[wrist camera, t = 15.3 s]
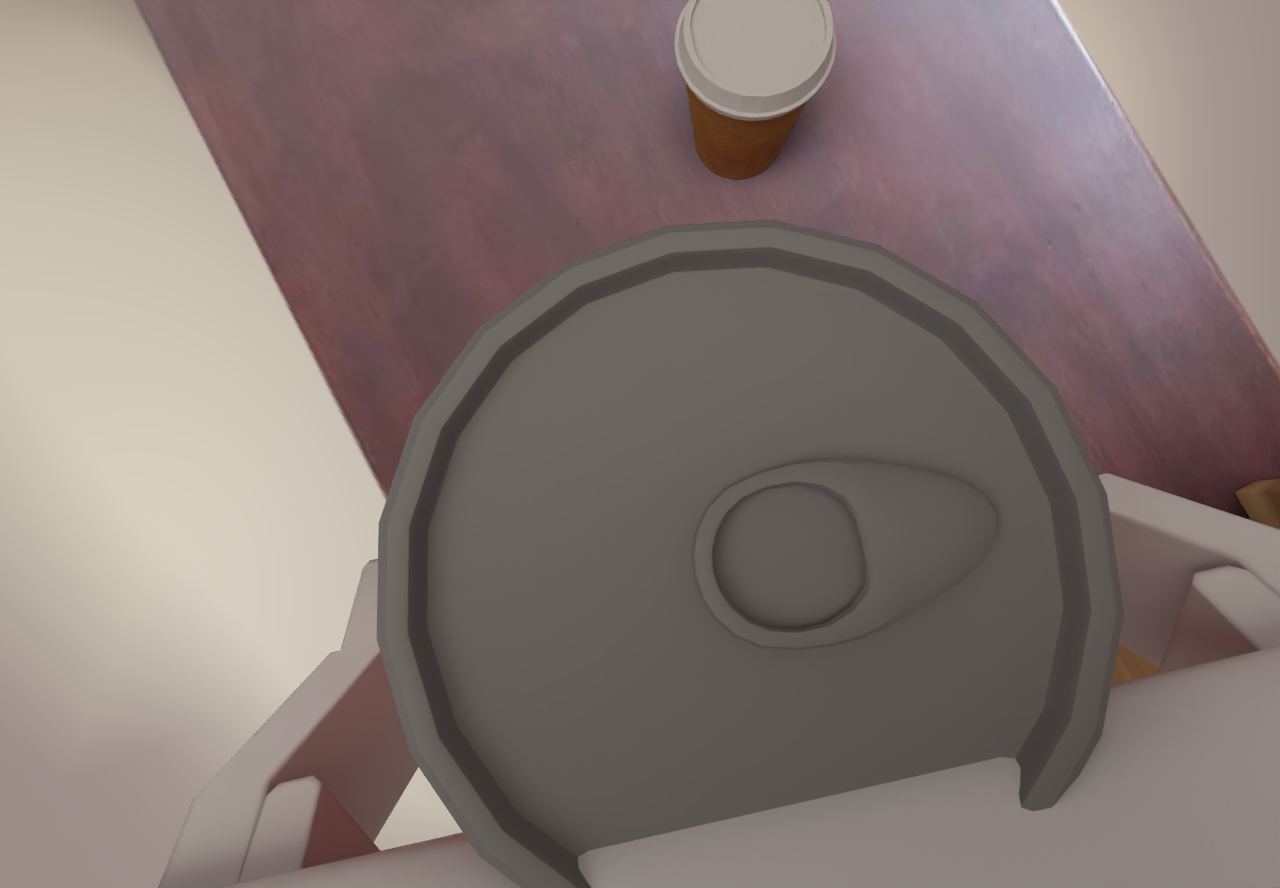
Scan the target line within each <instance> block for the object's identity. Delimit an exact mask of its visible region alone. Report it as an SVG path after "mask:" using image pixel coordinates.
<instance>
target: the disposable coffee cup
mask: <svg viewBox="0 0 1280 888" xmlns="http://www.w3.org/2000/svg"><path fill="white" fill-rule="evenodd" d="M836 46H837V38H836V28H835V25H834V22H833V19H832V13H831V8H830V6H829V4H828V2H827V0H689V1H688V2H687V4H686V6H685V7H684V9H683V11H682V13H681V15H680V18H679V20H678V23H677V28H676V34H675V54H676V61H677V64H678V67H679V70H680V72H681V75H682V76H683V78H684V80H685V82H686V87H687V93H688V99H689V106H690V112H691V119H692V124H693V132H694V138H695V146H696V149H697V153H698V155H699V157H700V159H701V160H702V162H703V163H704V164H705V166H706V167H708V168H709V169H710V170H711V171H713V172H714V173H716V174H718V175H720V176H723V177H726V178H731V179H745V178H749V177H753V176H755V175H757V174H759V173H761V172H762V171H764V170H765V169H767V168H768V167H769V165H770V164H771V163H772V162H773V161H774V159H775V158H776V156H777V154H778V152H779V150H780V148H781V147H782V145H783V143H784V141H785V139H786V138H787V136H788V134H789V132H790V131H791V129H792V127H793V125H794V124H795V122H796V120H797V118H798V116H799V115H800V113H801V111H802V109H803V107H804V106H805V104H806V102H807V101H808V100H809V99H810V98H811V97H812V96H813V95H814V94H815V93H816V92H817V91H818V90H819V89H820V88H821V86H822V85H823V83H824V81H825V80H826V78H827V77H828V75H829V73H830V70H831V68H832V65H833V63H834V59H835V55H836Z"/></svg>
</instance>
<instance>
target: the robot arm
mask: <svg viewBox="0 0 1280 888" xmlns="http://www.w3.org/2000/svg"><path fill="white" fill-rule="evenodd" d="M1098 476H1099V478H1100V480H1101V482H1102V484H1103V486H1104V488H1105V491H1106V493H1107V497H1108V504H1109V511H1110V519H1111V526H1112V533H1113V540H1114V547H1115V554H1116V561H1117V568H1118V575H1119V582H1120V589H1121V596H1122V603H1123V610H1124V616H1123V622H1122V627H1121V633H1120V638H1119V644H1120V645H1122V646H1123V647H1125V648H1127V649H1128V650H1130V651H1132V652H1134V653H1135V654H1137V655H1139V656H1140V657H1142V658H1144V659H1145V660H1147V661H1149V662H1150V663H1152V664H1154V665H1156V666H1157V667H1159V669H1158V672H1157V674H1154V675H1150V676H1146V677H1141V678H1137V679H1132V680H1128V681H1124V682H1119V683H1115V684H1111V688H1110V694H1109V699H1108V705H1107V710H1106V716H1105V721H1104V727H1103V732H1102V736H1101V738H1100V739H1099V741H1098V743H1097V745H1096V747H1095V748H1094V750H1093V752H1092V754H1091V755H1090V757H1089V759H1088V761H1087V763H1086V764H1085V766H1084V768H1083V770H1082V771H1081V773H1080V775H1079V776H1078V777H1077V779H1076V780H1075V781H1074V782H1073V783H1072V784H1071V786H1070V787H1069V788H1068V789H1067V790H1066V792H1065V793H1064V794H1063V795H1062V796H1061V797H1060V799H1059V800H1058V801H1057V802H1056V803H1055V805H1054V806H1053V807H1052V808H1048V809H1043V810H1038V811H1031V810H1027V809H1024V808H1021V803H1020V798H1019V789H1020V769H1021V768H1020V766H1019V764H1018V763H1017V761H1016V759H1015V758H1008V757H999V758H994V759H990V760H986V761H981V762H977V763H972V764H968V765H964V766H959V767H955V768H950V769H946V770H942V771H937V772H933V773H928V774H924V775H920V776H915V777H911V778H906V779H902V780H898V781H893V782H889V783H884V784H880V785H876V786H871V787H867V788H863V789H858V790H854V791H849V792H845V793H841V794H836V795H832V796H827V797H823V798H819V799H814V800H810V801H805V802H801V803H797V804H792V805H788V806H783V807H779V808H775V809H770V810H766V811H761V812H757V813H753V814H748V815H744V816H739V817H735V818H731V819H726V820H722V821H717V822H713V823H709V824H704V825H700V826H695V827H691V828H687V829H682V830H678V831H673V832H669V833H665V834H660V835H656V836H651V837H647V838H643V839H638V840H634V841H629V842H625V843H621V844H616V845H612V846H607V847H603V848H599V849H594V850H590V851H587V852H586V853H584V854H583V855H581V856H580V857H578V867H579V870H580V871H581V873H582V875H583V876H584V878H585V879H586V881H587V882H588V884H589V885H590V886H591V888H1280V530H1279V529H1276V528H1273V527H1270V526H1267V525H1264V524H1261V523H1258V522H1255V521H1252V520H1249V519H1246V518H1243V517H1240V516H1237V515H1234V514H1231V513H1228V512H1225V511H1221V510H1218V509H1215V508H1212V507H1209V506H1206V505H1203V504H1200V503H1197V502H1194V501H1191V500H1188V499H1185V498H1182V497H1179V496H1176V495H1173V494H1170V493H1167V492H1164V491H1161V490H1158V489H1155V488H1151V487H1148V486H1145V485H1142V484H1139V483H1136V482H1133V481H1130V480H1127V479H1124V478H1121V477H1118V476H1115V475H1112V474H1109V473H1106V474H1102V475H1098ZM377 590H378V559H375V560H370V561H369V562H368V563H367V564H366V565H365V566H364V568H363V569H362V573H361V577H360V581H359V585H358V588H357V592H356V595H355V599H354V603H353V607H352V610H351V615H350V618H349V621H348V625H347V629H346V632H345V636H344V640H343V643H342V647H341V650H340V651H337V652H333V653H330V654H329V655H328V656H327V657H326V658H325V659H324V660H323V661H322V663H321V664H320V665H319V666H318V667H317V668H316V669H315V670H314V671H313V672H312V673H311V674H310V675H309V676H308V677H307V678H306V680H305V681H304V682H303V683H302V684H301V685H300V686H299V687H298V688H297V689H296V690H295V691H294V692H293V693H292V694H291V695H290V697H289V698H288V699H287V700H286V701H285V702H284V703H283V704H282V705H281V706H280V707H279V708H278V710H276V711H275V713H274V714H273V715H272V716H271V717H270V718H269V719H268V720H267V721H266V722H265V723H264V725H262V727H261V728H260V729H259V730H258V731H257V732H256V733H255V734H254V735H253V736H252V737H251V738H250V739H249V740H248V741H247V743H246V744H245V745H244V746H243V747H242V748H241V749H240V750H239V751H238V752H237V753H236V754H235V755H234V756H233V757H232V758H231V759H230V761H229V762H228V763H227V764H226V765H225V766H224V767H223V768H222V769H221V770H220V771H219V772H218V773H217V774H216V775H215V777H214V778H213V779H212V780H211V781H210V782H209V783H208V784H207V785H206V786H205V787H204V788H203V789H202V790H201V791H200V793H199V794H198V795H197V796H196V797H195V798H194V799H193V801H192V803H191V806H190V808H189V811H188V813H187V816H186V818H185V821H184V824H183V826H182V829H181V831H180V833H179V836H178V839H177V841H176V844H175V846H174V849H173V851H172V854H171V856H170V859H169V861H168V864H167V867H166V869H165V871H164V874H163V876H162V879H161V881H160V884H159V887H158V888H520V887H519V886H518V885H516V884H515V883H514V882H512V881H511V880H510V879H509V878H507V877H506V876H505V875H503V874H502V873H501V872H499V871H498V870H497V869H496V868H494V867H493V866H492V865H490V864H489V863H488V862H486V861H485V860H484V859H483V858H481V857H480V856H479V855H478V853H477V852H476V850H475V849H474V848H473V846H472V845H471V843H470V842H469V840H468V839H467V837H466V836H465V834H464V833H463V832H462V833H458V834H453V835H449V836H444V837H440V838H436V839H431V840H427V841H422V842H419V843H414V844H409V845H405V846H401V847H397V848H392V849H387V850H384V851H380V850H379V849H378V848H377V846H376V845H375V844H374V843H373V842H374V840H375V839H376V837H377V835H378V834H379V832H380V830H381V829H382V827H383V825H384V824H385V822H386V820H387V819H388V817H389V815H390V814H391V812H392V810H393V809H394V807H395V805H396V803H397V802H398V800H399V798H400V797H401V795H402V793H403V792H404V790H405V788H406V786H407V785H408V783H409V782H410V780H411V778H412V776H413V775H414V773H415V772H416V770H417V768H418V767H419V766H418V765H417V763H416V762H415V760H414V759H413V758H412V756H411V755H410V752H409V748H408V745H407V742H406V738H405V735H404V731H403V728H402V725H401V721H400V718H399V714H398V711H397V707H396V704H395V701H394V697H393V694H392V690H391V687H390V684H389V680H388V677H387V673H386V670H385V666H384V663H383V660H382V656H381V653H380V649H379V646H378V643H377Z"/></svg>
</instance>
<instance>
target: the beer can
mask: <svg viewBox="0 0 1280 888" xmlns="http://www.w3.org/2000/svg"><path fill="white" fill-rule="evenodd" d="M1123 616H1124V610H1123V603H1122V596H1121V589H1120V582H1119V575H1118V568H1117V561H1116V554H1115V547H1114V540H1113V533H1112V526H1111V519H1110V511H1109V504H1108V497H1107V493H1106V491H1105V488H1104V486H1103V484H1102V482H1101V480H1100V478H1099V476H1098V474H1097V472H1096V470H1095V468H1094V466H1093V464H1092V462H1091V459H1090V457H1089V455H1088V453H1087V451H1086V449H1085V447H1084V445H1083V443H1082V441H1081V439H1080V437H1079V435H1078V432H1077V430H1076V428H1075V426H1074V424H1073V422H1072V420H1071V418H1070V416H1069V414H1068V412H1067V410H1066V408H1065V406H1064V403H1063V401H1062V399H1061V397H1060V395H1059V393H1058V391H1057V389H1056V387H1055V386H1054V385H1053V384H1052V382H1051V381H1050V380H1049V379H1048V378H1047V377H1046V376H1045V375H1044V374H1043V373H1042V372H1041V371H1040V370H1039V368H1038V367H1037V366H1036V365H1035V364H1034V363H1033V362H1032V361H1031V360H1030V359H1029V358H1028V357H1027V356H1026V355H1025V353H1024V352H1023V351H1022V350H1021V349H1020V348H1019V347H1018V346H1017V345H1016V344H1015V343H1014V342H1013V341H1012V339H1011V338H1010V337H1009V336H1008V335H1007V334H1006V333H1005V332H1004V331H1003V330H1002V329H1001V328H1000V327H999V325H998V324H997V323H996V322H995V321H994V320H993V319H992V318H991V317H990V316H989V315H988V314H987V313H986V311H985V310H984V309H983V308H982V307H981V306H980V305H979V304H978V303H977V302H976V301H974V300H972V299H971V298H969V297H967V296H966V295H964V294H962V293H960V292H959V291H957V290H955V289H954V288H952V287H950V286H948V285H947V284H945V283H943V282H942V281H940V280H938V279H936V278H935V277H933V276H931V275H930V274H928V273H926V272H924V271H923V270H921V269H919V268H918V267H916V266H914V265H912V264H911V263H909V262H907V261H906V260H904V259H902V258H900V257H899V256H897V255H895V254H894V253H892V252H890V251H888V250H887V249H885V248H883V247H882V246H880V245H876V244H872V243H868V242H864V241H859V240H855V239H851V238H847V237H843V236H839V235H834V234H830V233H826V232H822V231H818V230H814V229H809V228H805V227H801V226H797V225H793V224H789V223H784V222H780V221H776V220H758V221H741V222H723V223H706V224H688V225H671V226H663V227H660V228H658V229H655V230H652V231H649V232H647V233H644V234H641V235H639V236H636V237H633V238H630V239H628V240H625V241H622V242H619V243H617V244H614V245H611V246H609V247H606V248H603V249H600V250H598V251H595V252H592V253H589V254H587V255H584V256H581V257H579V258H576V259H573V260H570V261H568V262H565V263H563V264H562V265H561V266H559V267H558V268H557V269H555V270H554V271H553V272H551V273H550V274H549V275H547V276H546V277H545V278H543V279H542V280H541V281H540V282H538V283H537V284H536V285H534V286H533V287H532V288H530V289H529V290H528V291H526V292H525V293H524V294H522V295H521V296H520V297H518V298H517V299H516V300H514V301H513V302H512V303H511V304H509V305H508V306H507V307H505V308H504V309H503V310H501V311H500V312H499V313H497V314H496V315H495V316H493V317H492V318H491V319H489V320H488V321H487V322H485V323H484V324H483V325H481V326H480V327H479V328H478V329H477V330H476V332H475V333H474V335H473V336H472V337H471V339H470V340H469V342H468V343H467V344H466V346H465V347H464V349H463V350H462V351H461V353H460V354H459V356H458V357H457V358H456V360H455V361H454V362H453V364H452V365H451V367H450V368H449V369H448V371H447V372H446V374H445V375H444V376H443V378H442V379H441V381H440V382H439V383H438V385H437V386H436V388H435V389H434V390H433V392H432V393H431V394H430V396H429V397H428V399H427V400H426V401H425V403H424V404H423V406H422V407H421V408H420V410H419V411H418V413H417V414H416V415H415V417H414V420H413V423H412V426H411V429H410V432H409V435H408V438H407V441H406V444H405V447H404V450H403V453H402V456H401V459H400V462H399V465H398V468H397V471H396V474H395V477H394V480H393V483H392V486H391V489H390V492H389V494H388V497H387V500H386V503H385V507H384V509H383V512H382V515H381V518H380V522H379V542H378V590H377V643H378V646H379V649H380V653H381V656H382V660H383V663H384V666H385V670H386V673H387V677H388V680H389V684H390V687H391V690H392V694H393V697H394V701H395V704H396V707H397V711H398V714H399V718H400V721H401V725H402V728H403V731H404V735H405V738H406V742H407V745H408V748H409V752H410V755H411V756H412V758H413V759H414V760H415V762H416V763H417V765H418V766H419V768H420V769H421V771H422V772H423V774H424V775H425V776H426V778H427V780H428V781H429V782H430V784H431V786H432V787H433V788H434V790H435V791H436V793H437V794H438V796H439V797H440V799H441V800H442V802H443V803H444V805H445V806H446V808H447V809H448V811H449V812H450V814H451V815H452V816H453V818H454V819H455V821H456V822H457V824H458V825H459V827H460V828H461V830H462V831H463V833H464V834H465V836H466V837H467V839H468V840H469V842H470V843H471V845H472V846H473V848H474V849H475V850H476V852H477V853H478V855H479V856H480V857H481V858H483V859H484V860H485V861H486V862H488V863H489V864H490V865H492V866H493V867H494V868H496V869H497V870H498V871H499V872H501V873H502V874H503V875H505V876H506V877H507V878H509V879H510V880H511V881H512V882H514V883H515V884H516V885H518V886H519V887H520V888H591V886H590V885H589V884H588V882H587V881H586V879H585V878H584V876H583V875H582V873H581V871H580V870H579V867H578V857H580V856H581V855H583V854H584V853H586V852H587V851H590V850H594V849H599V848H603V847H607V846H612V845H616V844H621V843H625V842H629V841H634V840H638V839H643V838H647V837H651V836H656V835H660V834H665V833H669V832H673V831H678V830H682V829H687V828H691V827H695V826H700V825H704V824H709V823H713V822H717V821H722V820H726V819H731V818H735V817H739V816H744V815H748V814H753V813H757V812H761V811H766V810H770V809H775V808H779V807H783V806H788V805H792V804H797V803H801V802H805V801H810V800H814V799H819V798H823V797H827V796H832V795H836V794H841V793H845V792H849V791H854V790H858V789H863V788H867V787H871V786H876V785H880V784H884V783H889V782H893V781H898V780H902V779H906V778H911V777H915V776H920V775H924V774H928V773H933V772H937V771H942V770H946V769H950V768H955V767H959V766H964V765H968V764H972V763H977V762H981V761H986V760H990V759H994V758H999V757H1008V758H1015V759H1016V761H1017V763H1018V764H1019V766H1020V768H1021V769H1020V789H1019V798H1020V803H1021V808H1024V809H1027V810H1031V811H1038V810H1043V809H1048V808H1052V807H1053V806H1054V805H1055V803H1056V802H1057V801H1058V800H1059V799H1060V797H1061V796H1062V795H1063V794H1064V793H1065V792H1066V790H1067V789H1068V788H1069V787H1070V786H1071V784H1072V783H1073V782H1074V781H1075V780H1076V779H1077V777H1078V776H1079V775H1080V773H1081V771H1082V770H1083V768H1084V766H1085V764H1086V763H1087V761H1088V759H1089V757H1090V755H1091V754H1092V752H1093V750H1094V748H1095V747H1096V745H1097V743H1098V741H1099V739H1100V738H1101V736H1102V732H1103V727H1104V721H1105V716H1106V710H1107V705H1108V699H1109V694H1110V688H1111V683H1112V677H1113V672H1114V666H1115V660H1116V655H1117V649H1118V644H1119V638H1120V633H1121V627H1122V622H1123Z"/></svg>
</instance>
